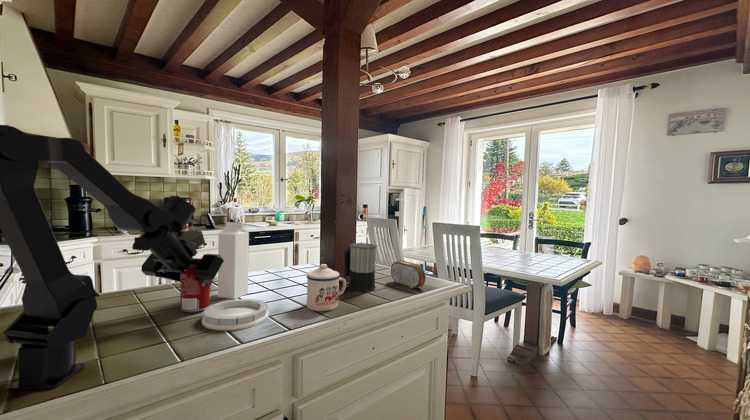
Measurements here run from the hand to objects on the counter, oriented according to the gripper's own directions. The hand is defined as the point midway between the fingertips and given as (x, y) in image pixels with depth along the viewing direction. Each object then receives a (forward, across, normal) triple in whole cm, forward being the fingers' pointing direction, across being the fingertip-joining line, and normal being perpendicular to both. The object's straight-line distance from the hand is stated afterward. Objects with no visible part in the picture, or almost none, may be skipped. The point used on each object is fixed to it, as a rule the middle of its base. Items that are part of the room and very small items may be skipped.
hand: (199, 282), depth 83 cm
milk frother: (+24, -35, -15) cm, 45 cm away
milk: (+13, -2, -4) cm, 14 cm away
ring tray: (+2, -14, +8) cm, 16 cm away
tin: (+31, -53, -21) cm, 65 cm away
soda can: (+4, 0, +6) cm, 7 cm away
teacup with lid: (+12, -32, -2) cm, 34 cm away
